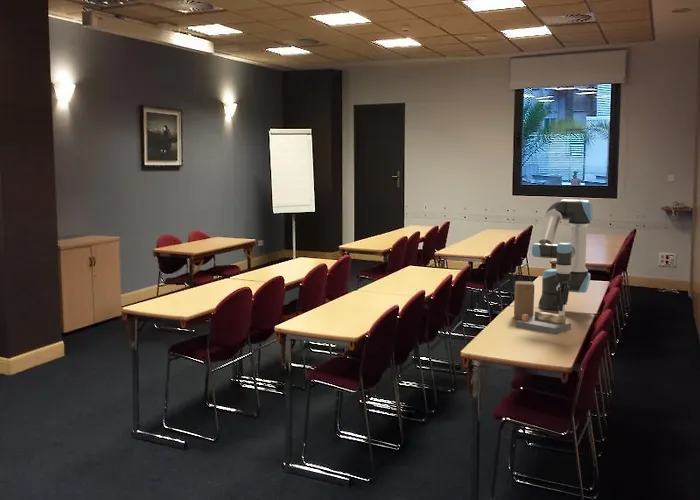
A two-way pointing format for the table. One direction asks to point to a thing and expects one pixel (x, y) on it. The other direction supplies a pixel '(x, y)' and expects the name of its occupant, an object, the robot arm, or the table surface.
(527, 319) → the stool seat
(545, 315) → the folding leg
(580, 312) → the table surface
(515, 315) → the wooden block
